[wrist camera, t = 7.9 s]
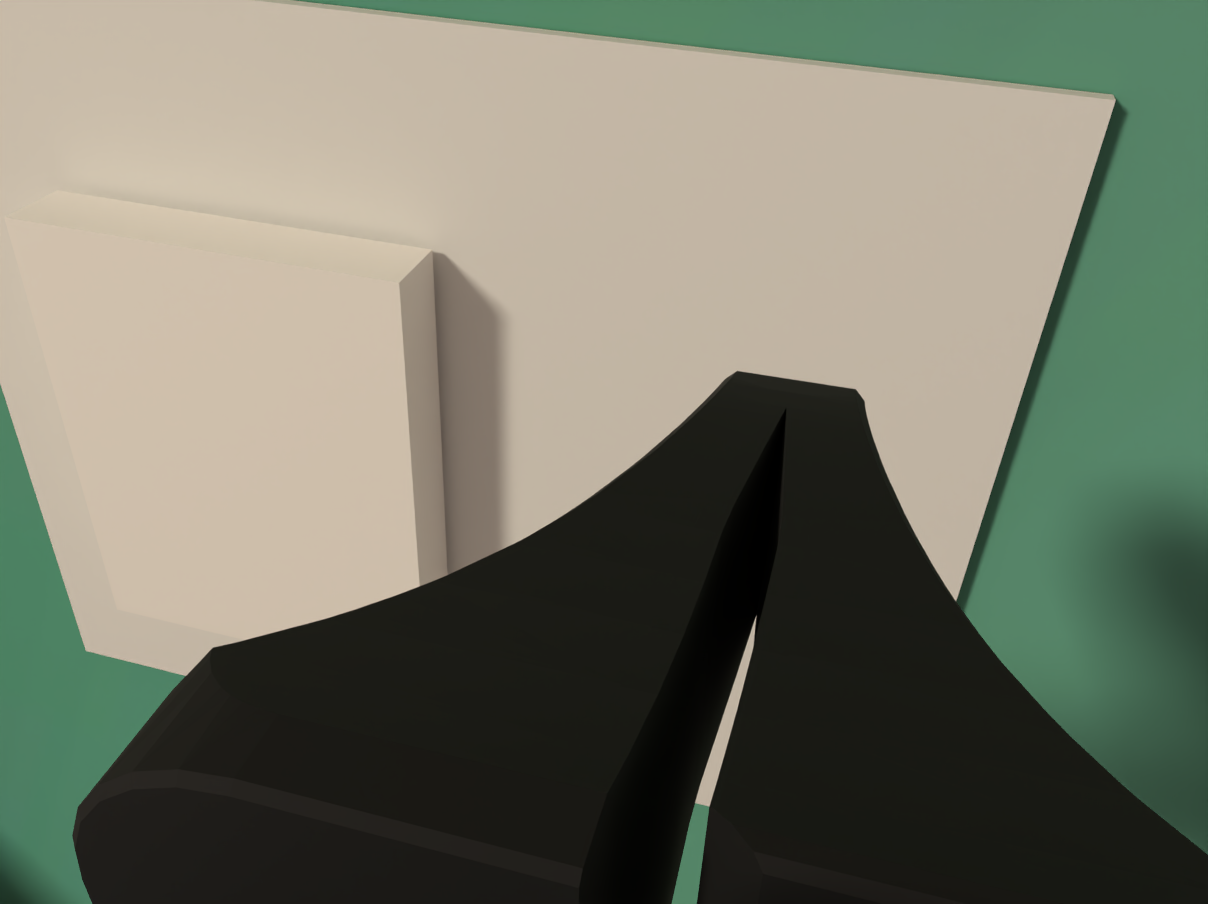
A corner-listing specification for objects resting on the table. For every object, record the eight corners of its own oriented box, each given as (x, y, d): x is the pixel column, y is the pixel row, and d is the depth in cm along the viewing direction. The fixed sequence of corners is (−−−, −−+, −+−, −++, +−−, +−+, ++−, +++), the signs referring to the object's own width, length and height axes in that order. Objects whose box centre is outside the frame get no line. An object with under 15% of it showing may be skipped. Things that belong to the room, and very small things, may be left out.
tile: (399, 282, 18) (4, 217, 20) (426, 683, 24) (117, 609, 26) (436, 245, 20) (64, 186, 21) (453, 633, 25) (158, 565, 27)
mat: (1113, 94, 16) (1116, 99, 16) (878, 837, 26) (877, 848, 26) (-124, -48, 20) (-137, -46, 20) (93, 643, 30) (85, 650, 30)
